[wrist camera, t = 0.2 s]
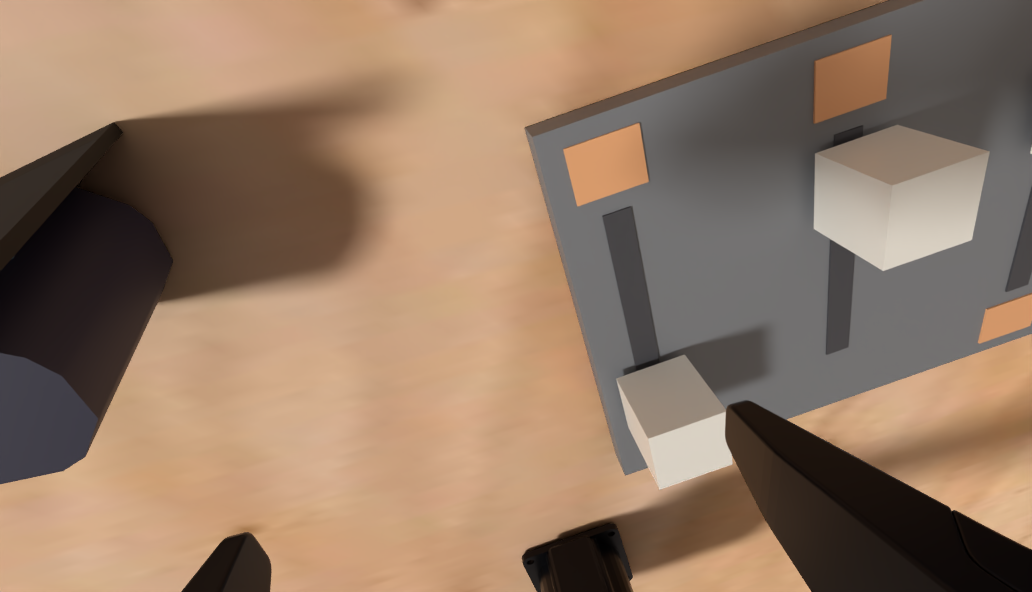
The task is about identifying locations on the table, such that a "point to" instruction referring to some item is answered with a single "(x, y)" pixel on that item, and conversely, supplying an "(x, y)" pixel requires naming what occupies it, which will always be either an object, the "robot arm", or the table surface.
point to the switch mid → (898, 194)
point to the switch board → (792, 210)
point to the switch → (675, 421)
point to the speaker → (67, 305)
